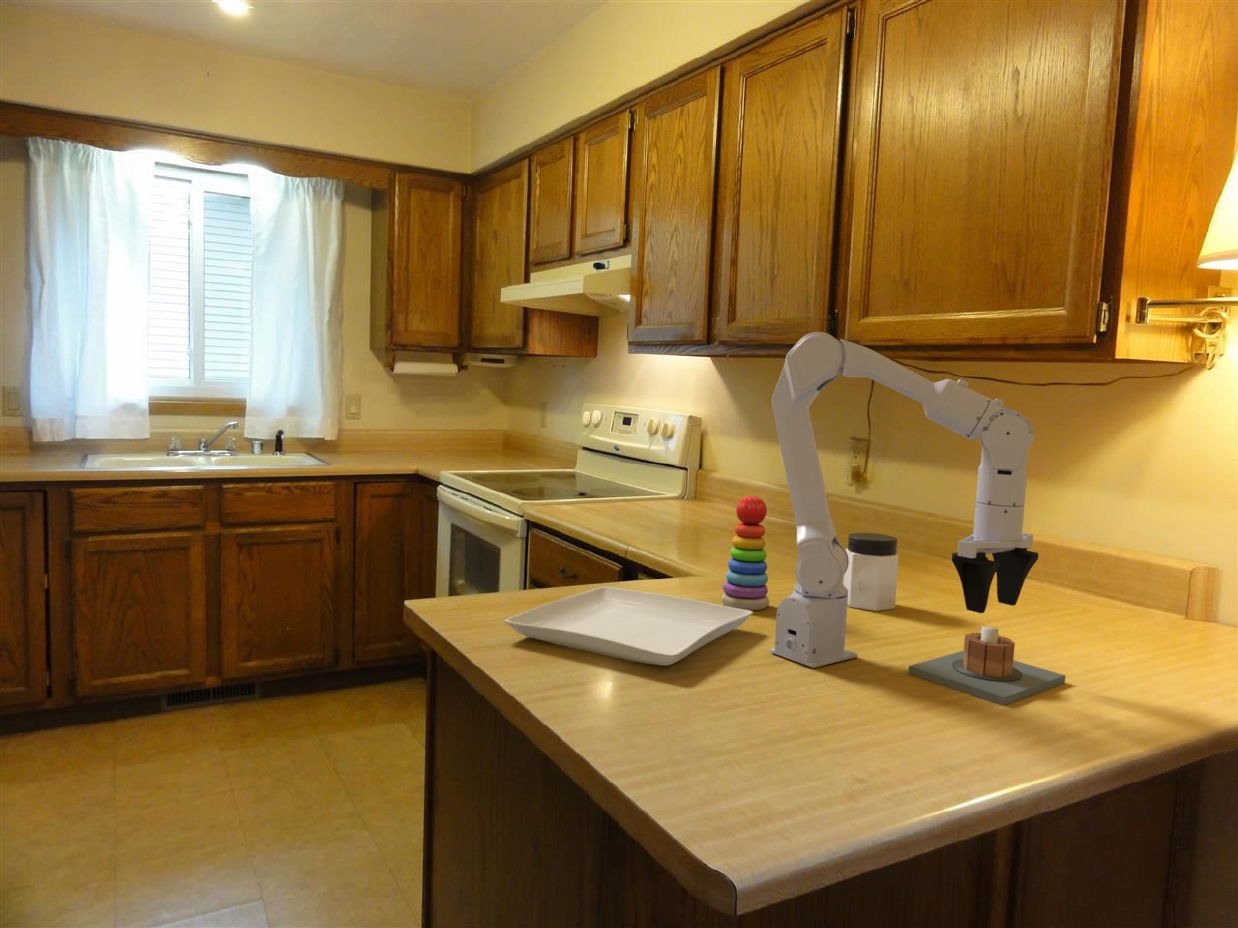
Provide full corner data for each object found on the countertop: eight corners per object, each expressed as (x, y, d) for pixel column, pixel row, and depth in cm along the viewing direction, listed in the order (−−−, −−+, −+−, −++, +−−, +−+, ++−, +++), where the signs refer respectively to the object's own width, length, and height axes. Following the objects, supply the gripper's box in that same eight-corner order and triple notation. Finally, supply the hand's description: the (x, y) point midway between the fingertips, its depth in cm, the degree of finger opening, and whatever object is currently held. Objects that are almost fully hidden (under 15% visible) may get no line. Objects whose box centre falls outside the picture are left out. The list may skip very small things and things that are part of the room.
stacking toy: (768, 614, 138) (774, 500, 136) (719, 609, 139) (724, 497, 137) (769, 602, 145) (775, 494, 144) (723, 598, 147) (728, 491, 145)
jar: (836, 605, 145) (840, 536, 144) (848, 596, 152) (852, 530, 151) (889, 614, 140) (894, 543, 139) (899, 604, 148) (904, 536, 146)
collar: (995, 679, 106) (998, 648, 106) (955, 666, 110) (957, 636, 110) (1019, 671, 109) (1021, 641, 109) (978, 659, 114) (981, 630, 113)
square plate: (754, 633, 128) (756, 608, 127) (672, 684, 104) (674, 653, 104) (602, 604, 142) (603, 581, 141) (500, 643, 118) (500, 616, 118)
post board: (1003, 705, 100) (1008, 651, 100) (908, 673, 111) (912, 624, 110) (1064, 682, 109) (1069, 633, 109) (971, 655, 120) (975, 609, 119)
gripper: (999, 511, 100) (990, 622, 102) (1059, 504, 109) (1050, 607, 110) (945, 503, 106) (938, 608, 107) (1006, 497, 115) (998, 595, 116)
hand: (991, 607), depth 109 cm, fingers open, 7 cm apart
